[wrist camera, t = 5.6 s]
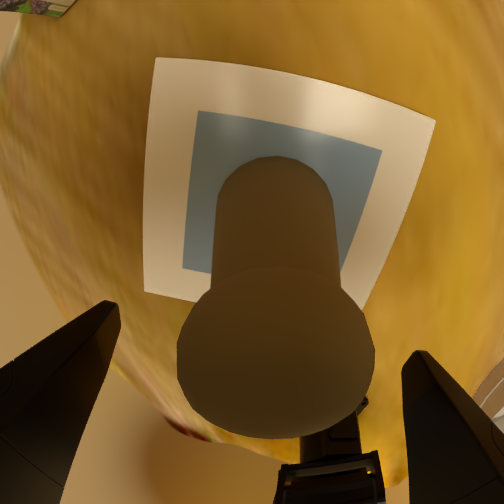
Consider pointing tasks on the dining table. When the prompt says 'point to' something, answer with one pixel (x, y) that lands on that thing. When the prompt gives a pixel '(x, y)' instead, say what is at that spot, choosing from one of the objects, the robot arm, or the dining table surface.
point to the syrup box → (37, 6)
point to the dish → (493, 396)
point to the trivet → (265, 145)
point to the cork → (275, 311)
